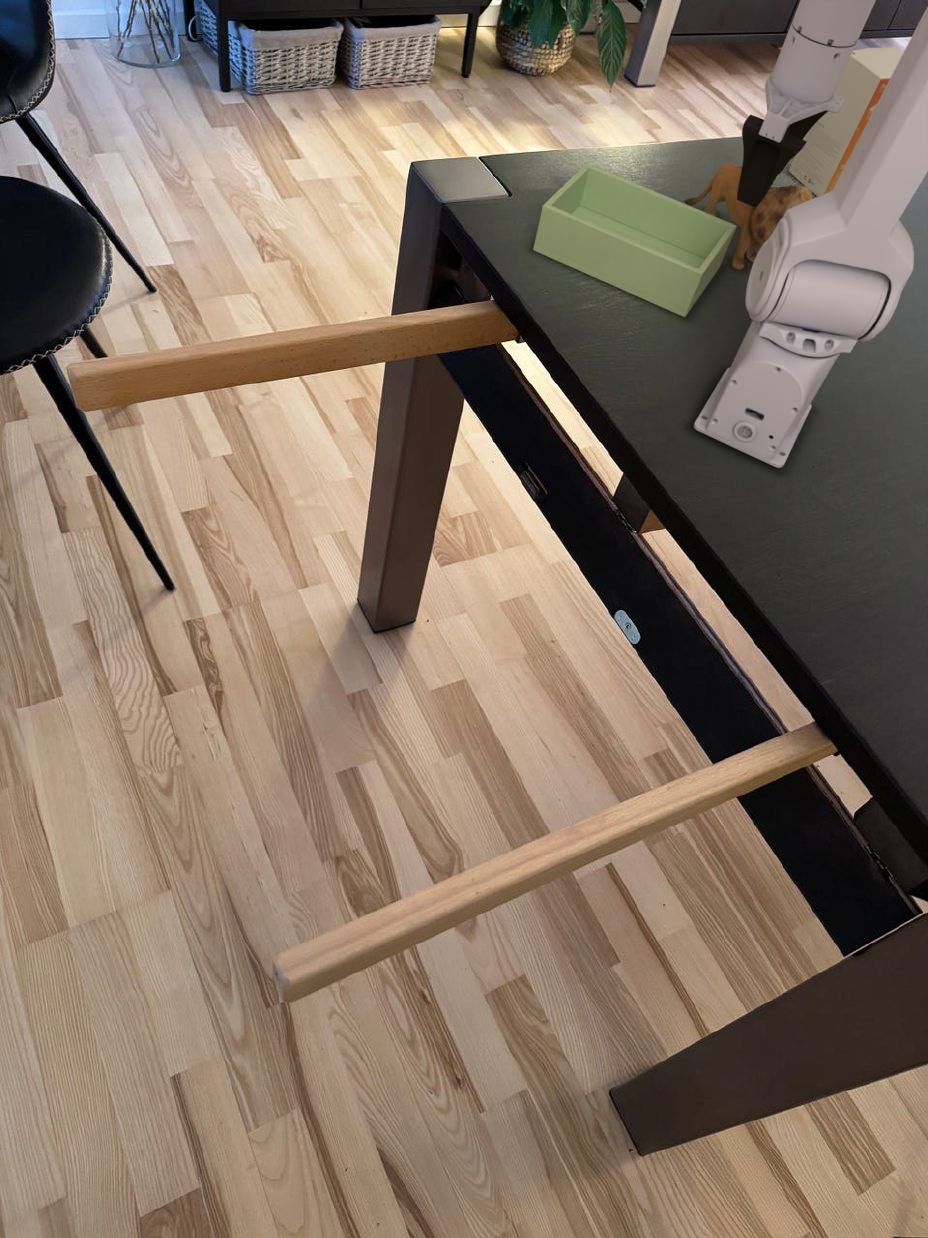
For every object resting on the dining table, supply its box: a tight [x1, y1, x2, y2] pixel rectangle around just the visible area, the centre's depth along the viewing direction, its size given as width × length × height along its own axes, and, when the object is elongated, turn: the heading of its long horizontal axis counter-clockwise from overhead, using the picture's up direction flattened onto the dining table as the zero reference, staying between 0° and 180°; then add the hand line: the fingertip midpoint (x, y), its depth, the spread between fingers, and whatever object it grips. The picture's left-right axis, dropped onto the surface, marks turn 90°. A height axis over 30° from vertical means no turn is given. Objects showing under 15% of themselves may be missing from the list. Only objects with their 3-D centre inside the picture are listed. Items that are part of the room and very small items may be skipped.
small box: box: [788, 46, 905, 197], centre depth 98 cm, size 8×6×13 cm
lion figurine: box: [683, 161, 814, 271], centre depth 89 cm, size 15×5×9 cm, turn 34°
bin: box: [532, 162, 738, 318], centre depth 86 cm, size 10×16×5 cm, turn 61°
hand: (759, 185), depth 87 cm, fingers open, 7 cm apart
